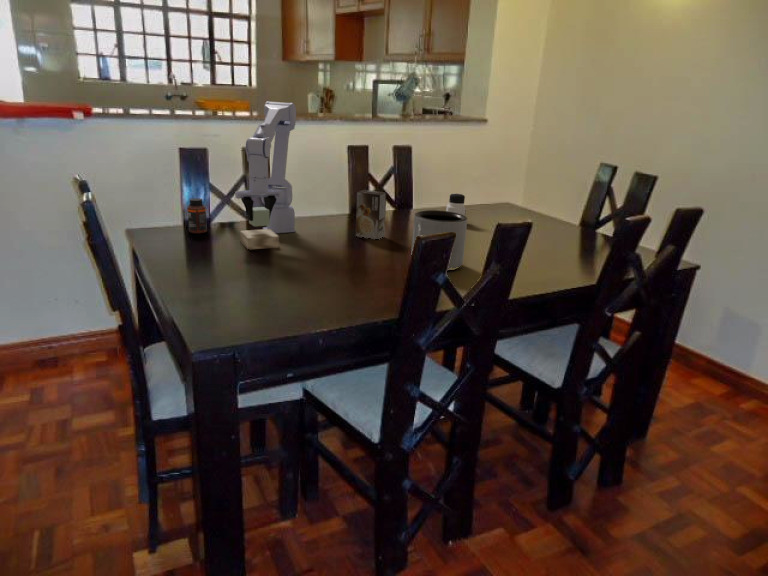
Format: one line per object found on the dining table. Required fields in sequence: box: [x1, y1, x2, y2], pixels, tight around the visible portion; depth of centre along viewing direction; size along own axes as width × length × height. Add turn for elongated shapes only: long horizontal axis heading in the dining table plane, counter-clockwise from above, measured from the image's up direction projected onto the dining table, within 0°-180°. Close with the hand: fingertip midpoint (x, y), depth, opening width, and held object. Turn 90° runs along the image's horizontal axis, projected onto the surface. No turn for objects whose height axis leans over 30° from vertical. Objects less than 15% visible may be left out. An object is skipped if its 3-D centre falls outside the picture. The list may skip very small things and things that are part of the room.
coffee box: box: [355, 189, 387, 240], centre depth 198 cm, size 9×6×16 cm
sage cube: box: [248, 206, 270, 227], centre depth 180 cm, size 5×5×5 cm
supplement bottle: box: [187, 198, 208, 234], centre depth 191 cm, size 6×6×11 cm
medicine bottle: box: [445, 193, 467, 216], centre depth 229 cm, size 7×7×12 cm
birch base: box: [239, 228, 280, 250], centre depth 182 cm, size 10×10×4 cm
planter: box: [410, 209, 468, 269], centre depth 170 cm, size 16×16×16 cm
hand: (259, 219), depth 180 cm, fingers closed on sage cube, 5 cm apart
